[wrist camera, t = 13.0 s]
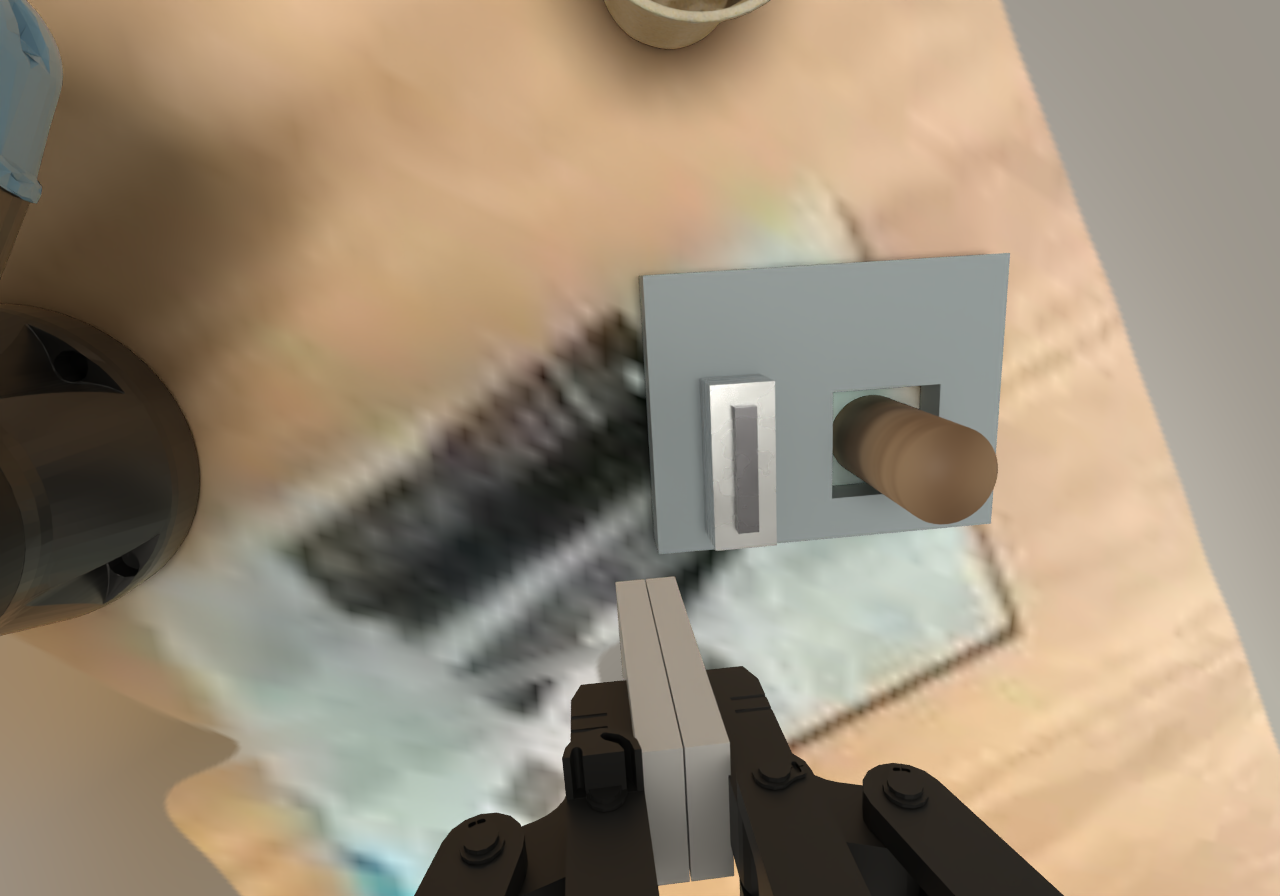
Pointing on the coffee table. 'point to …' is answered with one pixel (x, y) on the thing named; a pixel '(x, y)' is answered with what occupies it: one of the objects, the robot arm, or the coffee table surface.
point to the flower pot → (675, 18)
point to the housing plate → (816, 375)
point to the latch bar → (739, 460)
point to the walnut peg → (916, 458)
